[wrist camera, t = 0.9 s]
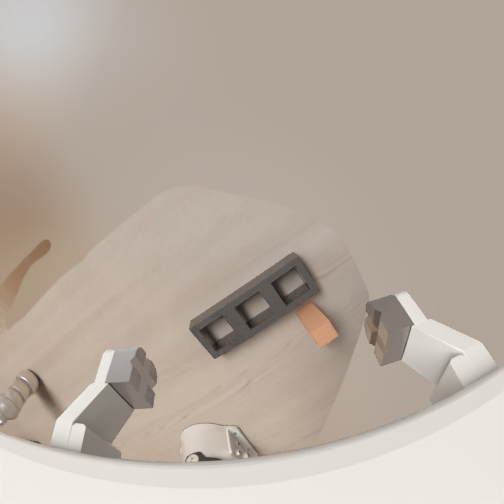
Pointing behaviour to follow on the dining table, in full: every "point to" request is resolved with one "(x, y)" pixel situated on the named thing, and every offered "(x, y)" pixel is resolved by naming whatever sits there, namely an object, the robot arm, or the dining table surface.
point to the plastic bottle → (17, 395)
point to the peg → (317, 324)
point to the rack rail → (251, 327)
